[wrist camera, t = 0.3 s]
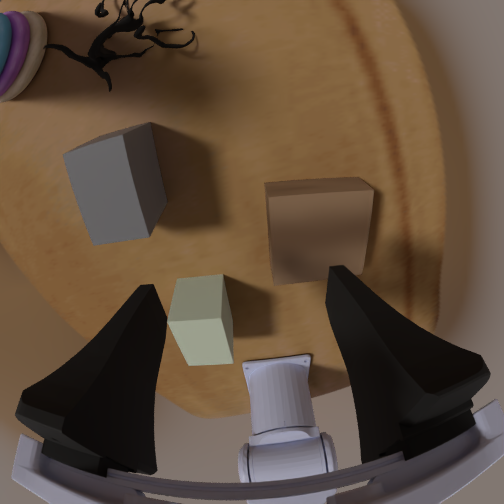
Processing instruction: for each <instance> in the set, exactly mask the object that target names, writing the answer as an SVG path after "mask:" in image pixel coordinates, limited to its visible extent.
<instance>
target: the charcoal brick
mask: <svg viewBox="0 0 504 504" xmlns="http://www.w3.org/2000/svg"><path fill="white" fill-rule="evenodd" d="M63 157H64V161H65V165H66V168H67V172H68V175H69V179H70V182H71V185H72V188H73V191H74V194H75V197H76V200H77V203H78V206H79V209H80V212H81V215H82V217H83V220H84V223H85V225H86V228H87V230H88V233H89V235H90V238H91V240H92V243H93V245H101V244H107V243H114V242H120V241H127V240H134V239H141V238H148V237H150V236H151V233H152V231H153V229H154V227H155V225H156V223H157V222H158V220H159V218H160V216H161V214H162V212H163V210H164V208H165V206H166V204H167V198H166V194H165V189H164V185H163V181H162V176H161V172H160V167H159V163H158V158H157V153H156V148H155V143H154V138H153V133H152V128H151V122H148V123H144V124H140V125H136V126H132V127H129V128H125V129H122V130H118V131H115V132H111V133H108V134H105V135H102V136H99V137H97V138H95V139H93V140H90V141H88V142H86V143H84V144H82V145H80V146H78V147H76V148H74V149H72V150H70V151H68V152H67V153H65V154H63Z"/></svg>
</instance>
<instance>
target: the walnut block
mask: <svg viewBox="0 0 504 504" xmlns="http://www.w3.org/2000/svg"><path fill="white" fill-rule="evenodd" d="M264 184H265V197H266V210H267V224H268V238H269V252H270V265H271V271H272V277H273V282H274V286H275V285H284V284H293V283H301V282H309V281H317V280H325V279H328V274H329V266H337V265H344V266H345V267H347V268H348V269H349V270H350V271H351V272H352V273H353V274H354V275H361V274H362V272H363V266H364V261H365V255H366V249H367V243H368V236H369V229H370V222H371V214H372V206H373V197H374V190H373V189H372V188H371V187H370V186H369V185H367V184H366V183H365V182H364V181H363V180H362V179H360V178H359V177H344V178H322V179H306V180H291V181H279V182H268V183H264Z"/></svg>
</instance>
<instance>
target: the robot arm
mask: <svg viewBox="0 0 504 504" xmlns="http://www.w3.org/2000/svg"><path fill="white" fill-rule="evenodd" d="M325 304H326V308H327V312H328V317H329V321H330V324H331V327H332V330H333V333H334V335H335V338H336V341H337V343H338V346H339V349H340V351H341V354H342V357H343V360H344V362H345V365H346V368H347V372H348V375H349V379H350V384H351V388H352V393H353V398H354V403H355V409H356V414H357V422H358V429H359V438H360V448H361V461H362V464H361V465H358V466H354V467H350V468H346V469H342V470H338V465H337V457H336V451H335V447H334V443H333V440H332V437H331V436H330V435H328V434H327V433H326V432H322V433H320V432H319V427H316V423H315V418H314V412H313V407H312V401H311V396H310V391H309V386H308V374H309V367H310V359H311V358H310V355H308V354H306V355H299V356H292V357H285V358H277V359H268V360H258V361H248V362H244V363H243V364H242V365H243V370H244V374H245V378H246V382H247V386H248V390H249V394H250V405H251V422H252V436H249V443H245V444H244V445H243V447H242V448H241V449H240V451H239V456H238V469H239V477H240V481H241V483H205V482H189V481H178V480H169V479H161V478H155V477H147V476H142V475H137V474H131V473H128V472H132V473H142V474H148V475H152V474H154V473H155V472H156V471H157V464H156V455H155V441H154V404H155V390H156V383H157V377H158V372H159V368H160V363H161V358H162V353H163V349H164V344H165V339H166V329H167V316H166V314H165V311H164V309H163V306H162V304H161V302H160V299H159V297H158V294H157V292H156V289H155V287H154V284H146V285H140V286H139V287H138V288H137V289H136V290H135V291H134V293H133V294H132V295H131V296H130V297H129V298H128V300H127V301H126V302H125V303H124V304H123V306H122V307H121V308H120V309H119V310H118V311H117V313H116V314H115V315H114V316H113V317H112V318H111V320H110V321H109V322H108V323H107V324H106V325H105V326H104V327H103V328H102V329H101V330H100V332H99V333H98V334H97V335H96V336H95V337H94V338H93V339H92V340H91V341H90V342H89V343H88V344H87V345H86V346H85V347H84V348H83V349H82V350H81V351H79V352H78V353H77V354H76V355H75V356H74V357H72V358H71V359H70V360H69V361H67V362H66V363H65V364H64V365H63V366H61V367H60V368H59V369H57V370H56V371H54V372H53V373H51V374H50V375H49V376H47V377H46V378H44V379H42V380H41V381H39V382H37V383H36V384H34V385H32V386H30V387H28V388H27V389H25V390H23V392H22V395H21V398H20V401H19V404H18V407H17V410H16V413H15V416H16V418H17V419H18V420H19V421H20V422H21V423H23V424H24V425H26V426H27V427H28V428H30V429H31V430H32V431H34V432H35V433H37V434H38V435H40V436H41V437H43V438H44V443H41V442H39V441H37V440H35V439H33V438H31V437H29V436H27V435H24V434H21V436H20V440H19V443H18V447H17V452H16V456H15V461H14V466H13V471H12V479H13V480H15V481H16V482H18V483H19V484H21V485H22V486H24V487H25V488H27V489H28V490H30V491H31V492H33V493H34V494H36V495H37V496H39V497H40V498H42V499H44V500H45V501H47V502H48V503H50V504H180V503H174V502H169V501H164V500H158V499H153V498H147V497H146V496H145V494H144V493H143V492H147V493H153V494H158V495H165V496H173V497H181V498H192V499H205V500H246V501H247V503H248V504H324V503H326V502H327V504H440V503H442V502H443V501H445V500H446V499H447V498H449V497H451V496H452V495H454V494H455V493H457V492H458V491H459V490H461V489H462V488H463V487H465V486H466V485H468V484H469V483H470V482H471V481H473V480H474V479H475V478H476V477H478V476H479V475H480V474H482V473H483V472H484V471H485V470H487V469H488V468H489V467H490V466H491V465H493V464H494V463H495V462H496V461H498V459H500V458H501V457H502V456H503V455H504V414H503V411H502V409H501V407H500V404H499V402H498V400H497V399H494V400H493V401H491V402H490V403H488V404H487V405H485V406H484V407H482V408H481V409H479V410H478V411H476V412H475V413H473V414H472V412H471V410H470V409H471V408H472V407H473V402H472V400H471V398H472V397H473V396H474V395H475V394H476V393H477V392H478V391H479V390H480V389H481V388H482V387H483V386H484V385H485V384H486V383H487V381H488V380H489V378H490V371H489V369H488V367H487V365H486V364H485V362H484V360H483V358H482V357H481V355H479V354H476V353H474V352H471V351H468V350H465V349H462V348H460V347H458V346H455V345H453V344H451V343H449V342H447V341H445V340H443V339H441V338H439V337H437V336H435V335H433V334H431V333H430V332H428V331H426V330H424V329H423V328H421V327H419V326H418V325H416V324H415V323H413V322H412V321H410V320H409V319H407V318H406V317H404V316H403V315H402V314H400V313H399V312H397V311H396V310H395V309H394V308H392V307H391V306H390V305H388V304H387V303H386V302H385V301H383V300H382V299H381V298H380V297H379V296H378V295H376V294H375V293H374V292H373V291H372V290H371V289H370V288H368V287H367V286H366V285H365V284H364V283H363V282H362V281H361V280H360V279H359V278H357V277H356V276H355V275H354V274H353V273H352V272H351V271H350V270H349V269H348V268H347V267H345V266H344V265H337V266H329V274H328V284H327V293H326V301H325ZM369 479H371V480H370V481H369V482H368V484H367V485H366V486H363V487H359V488H356V489H353V490H349V491H345V492H341V493H338V494H335V493H336V492H337V488H340V487H344V486H348V485H352V484H355V483H359V482H363V481H366V480H369ZM141 491H142V492H141Z"/></svg>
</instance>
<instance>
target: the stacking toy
mask: <svg viewBox="0 0 504 504" xmlns="http://www.w3.org/2000/svg"><path fill="white" fill-rule="evenodd" d="M45 45H47V26H46V23H45V21H44V19H43V18H42V16H41V15H39V14H38V13H36V12H33V11H24V12H16V11H9V12H5V13H0V102H6V101H9V100H11V99H13V98H14V97H16V96H17V95H19V94H20V93H21V92H22V91H23V90H24V89H25V88H26V87H27V86H28V84H29V83H30V82H31V80H32V79H33V77H34V76H35V74H36V72H37V70H38V68H39V66H40V64H41V62H42V59H43V56H44V53H45V49H46V48H44V50H43V47H44V46H45Z"/></svg>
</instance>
